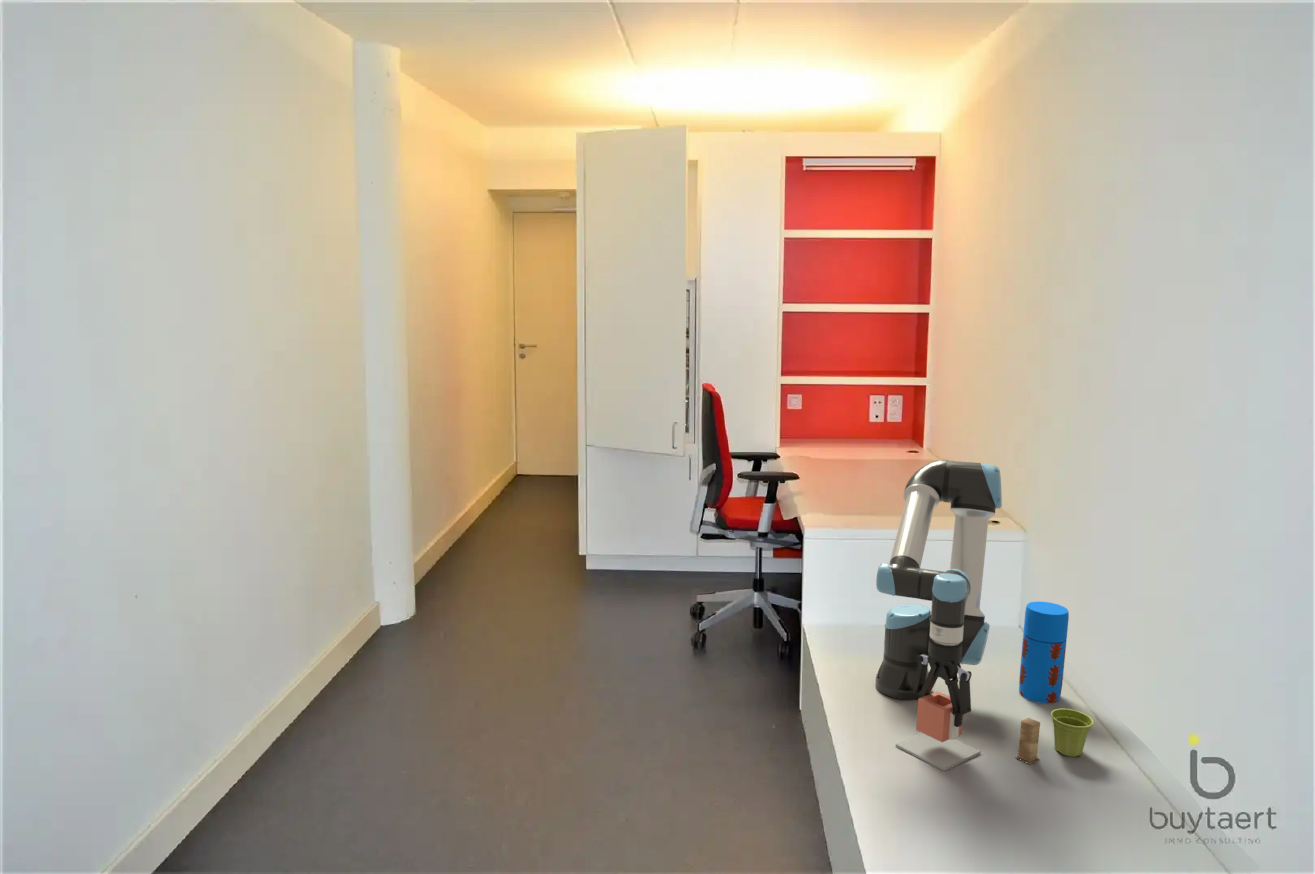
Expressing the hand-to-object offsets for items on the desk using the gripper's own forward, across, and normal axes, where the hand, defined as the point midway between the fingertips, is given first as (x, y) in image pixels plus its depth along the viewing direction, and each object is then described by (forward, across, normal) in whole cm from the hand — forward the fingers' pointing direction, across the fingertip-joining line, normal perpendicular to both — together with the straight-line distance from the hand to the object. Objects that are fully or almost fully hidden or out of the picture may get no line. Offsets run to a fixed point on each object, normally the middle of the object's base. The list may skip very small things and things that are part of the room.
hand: (938, 730), depth 221 cm
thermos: (+5, -3, +49) cm, 50 cm away
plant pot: (+5, +18, +26) cm, 32 cm away
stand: (+5, +15, +14) cm, 21 cm away
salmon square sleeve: (0, 0, 0) cm, 0 cm away
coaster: (+5, 0, 0) cm, 5 cm away
